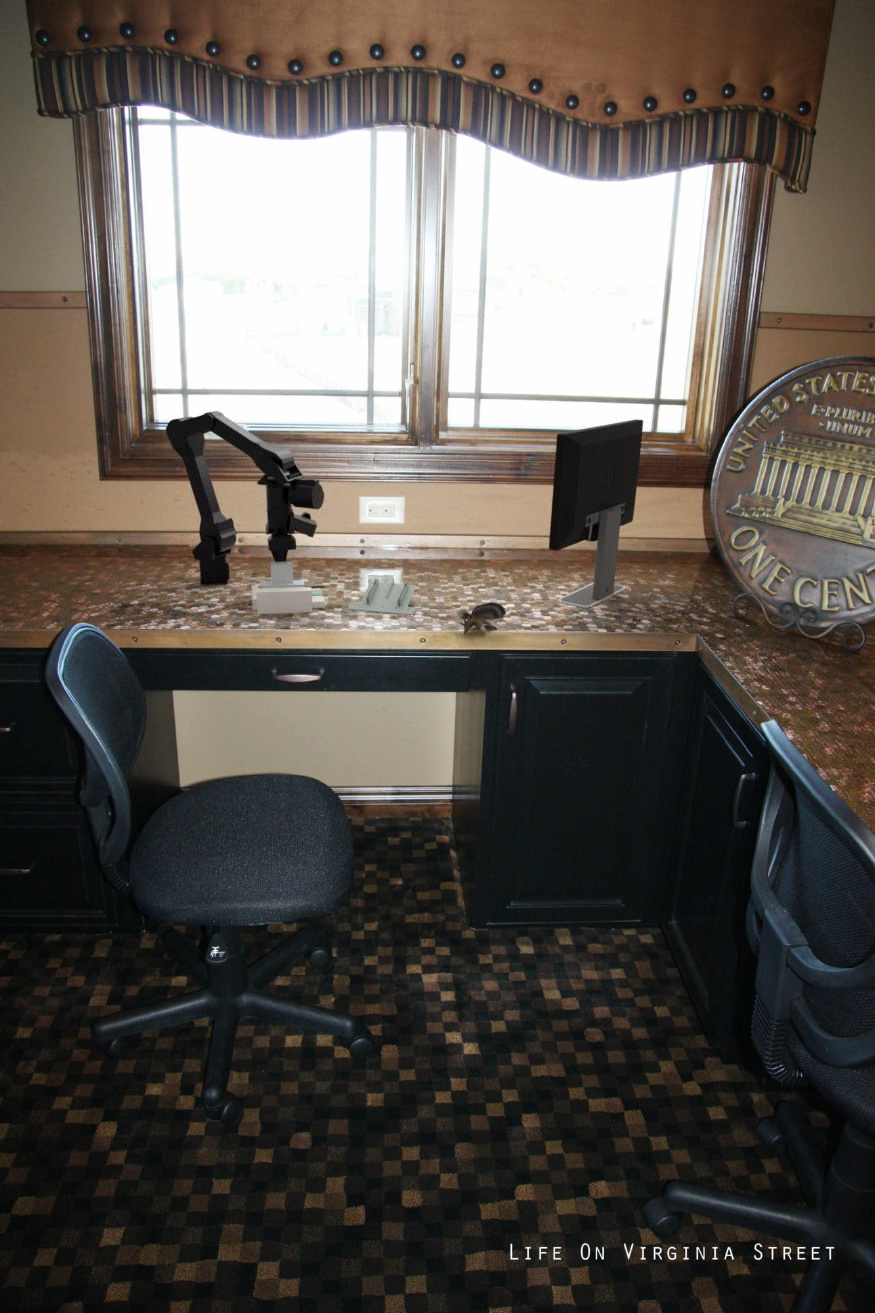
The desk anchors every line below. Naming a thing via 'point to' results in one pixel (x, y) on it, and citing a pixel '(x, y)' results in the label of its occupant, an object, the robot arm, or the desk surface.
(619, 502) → the computer monitor
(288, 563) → the gauge plunger
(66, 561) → the desk surface
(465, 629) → the animal figurine
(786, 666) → the desk surface
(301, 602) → the gauge housing
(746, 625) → the desk surface
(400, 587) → the metal bracket
